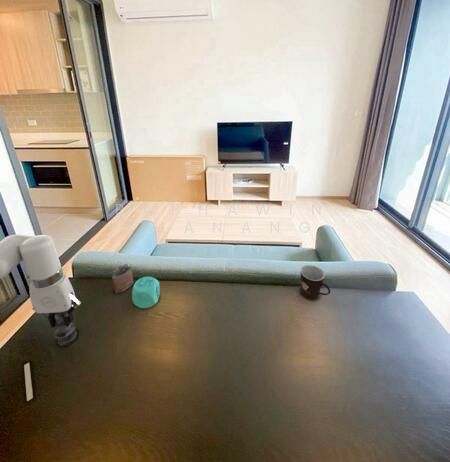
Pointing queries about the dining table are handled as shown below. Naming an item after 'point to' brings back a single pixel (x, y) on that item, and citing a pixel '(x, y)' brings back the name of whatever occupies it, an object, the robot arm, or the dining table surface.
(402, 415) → the dining table surface
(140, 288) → the decorative dice
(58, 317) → the dark grey chess piece
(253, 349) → the dining table surface
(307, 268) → the coffee mug
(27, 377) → the beige long thin bar
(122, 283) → the lighter
